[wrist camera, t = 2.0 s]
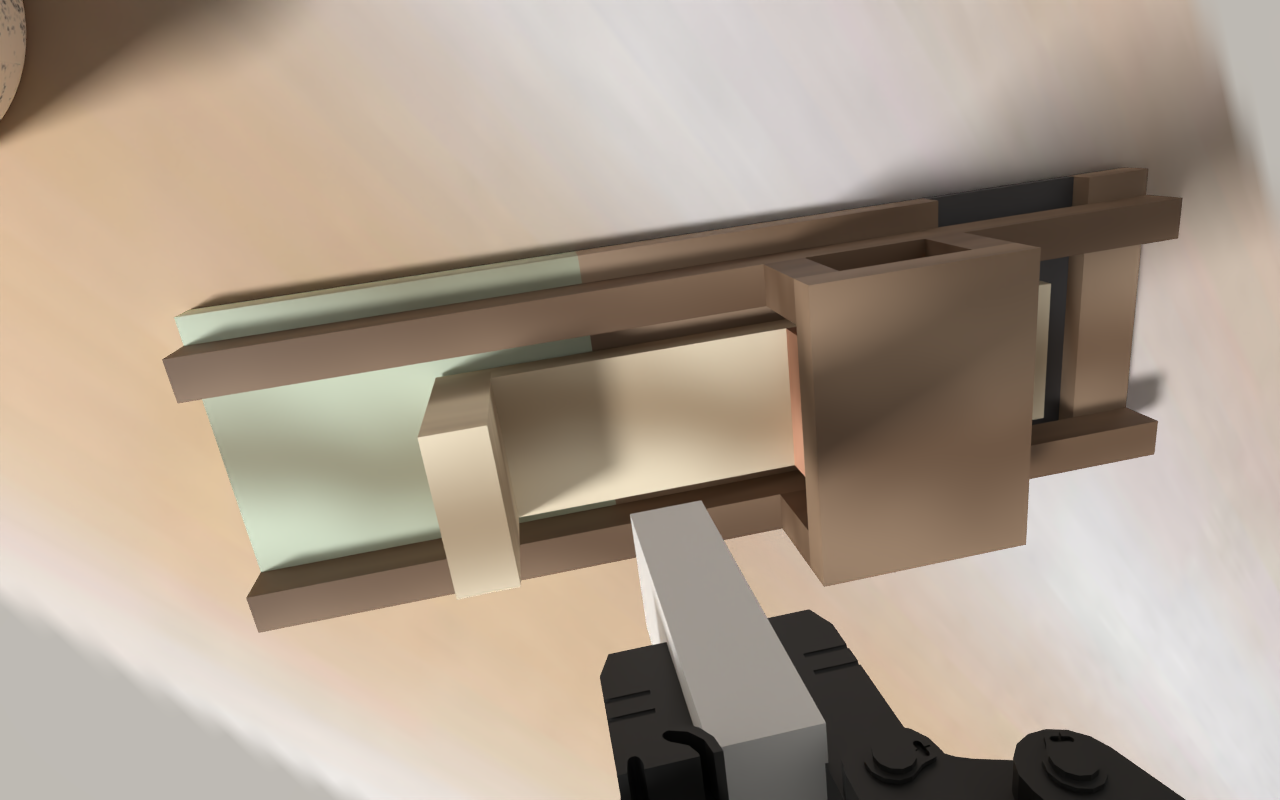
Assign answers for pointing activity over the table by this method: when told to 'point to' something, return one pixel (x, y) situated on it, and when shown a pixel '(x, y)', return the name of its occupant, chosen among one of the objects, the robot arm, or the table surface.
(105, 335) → the table surface
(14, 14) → the teacup with lid
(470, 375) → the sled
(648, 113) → the table surface
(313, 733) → the table surface
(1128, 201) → the tunnel board
